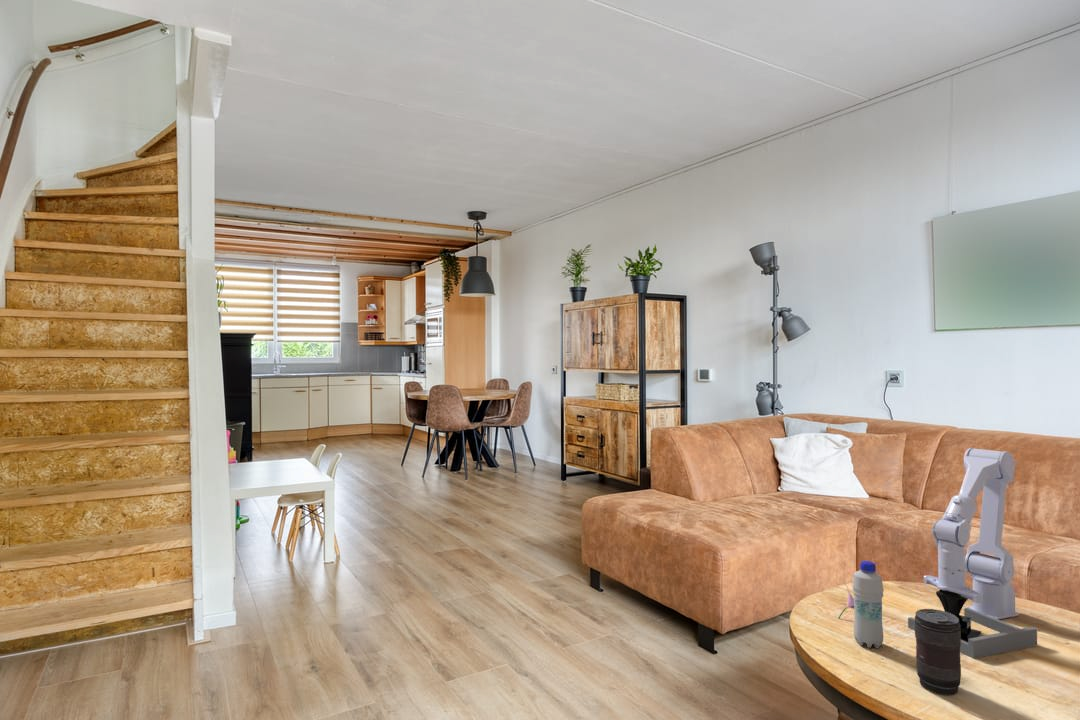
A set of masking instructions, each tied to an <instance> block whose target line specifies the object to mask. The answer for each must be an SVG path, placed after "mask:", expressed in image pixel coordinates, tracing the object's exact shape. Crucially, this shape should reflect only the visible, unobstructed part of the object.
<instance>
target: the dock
mask: <svg viewBox="0 0 1080 720" xmlns="http://www.w3.org/2000/svg"><path fill="white" fill-rule="evenodd" d="M963 609H964V611H963V614H964V615H963V616H966V617H970V618H971V622H974V623H977V624H979V625H981V626H984V627H987V628H988V629H991V630H993V631H996V632H997V633H992V634H986V635H982V636H980V635H979V637H975V638H970V639H968V642H965V641H963V640H961V646H960V654H963V655H965V656H968V657H969V658H971V659H978V658H983V657H987V656H993V655H998V654H1002V653H1008V652H1013V651H1016V650H1022V649H1028V648H1031V647H1033V648H1034V647H1036V646H1038V628H1036V627H1033V626H1028V627H1022V628H1020V627H1018V626H1016V625H1013V624H1010V623H1007V622H1005V621H1004V620H1001V619H995V618H993V617H990V616H988V615H985V614H983V613H980V612H978V611H975V610H973V609H970V608H965V607H964V608H963ZM907 627H908V628H909V629H910V630H913V631H914V632H915V617H912V616H910V617H908V618H907Z"/></svg>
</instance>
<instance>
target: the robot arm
mask: <svg viewBox="0 0 1080 720" xmlns="http://www.w3.org/2000/svg"><path fill="white" fill-rule="evenodd" d="M963 466H964V469H965V474H964V478H963V481H962V484H961V486H960V490H959V493H958V494H956V495H954V496H952V497H951V499H950V501H949V504H948V505H947V507H946V510H945V512H944V514H943V516H942V518H940V519H938V520H936V521H935V522H934V524H933V529H932V537H933V539H934V541H935V544H934V545H935V547H936V548H937V560H938V561H937V564H938V566H937V568H938V569H937V571H938V577H937V576H933V575H930V574H927V575H923V583H924V584H925V585H931V586H933V587H936V588H937V589H938V590H937V591H936V592H935V594H936V597H938V600H939V601H940V603H941V605H942V607H943V611H945V612H948V613H951V614H953V615H955V616H956V615H957V614H958V615H961V613H962V609H963V607H964V608H970V609H973V610H975V611H978V612H980V613H983V614H985V615H988V616H990V617H993V618H995V619H998V620H1002V619H1007V618H1013V617H1014V618H1015V617H1018V616H1019V615H1020V614H1019V613H1017V612H1016V590H1015V587H1014V585H1013V584H1012V583H1011V582H1012V580H1014V579H1013V578H1014V575H1015V566H1014V556H1013V554H1012V553H1011V552H1010V551H1008V550H1007V549H1006V548H1005V547H1004V546H1003V545H1002V541H1003V540H1002V538H1003V528H1004V518H1005V506H1006V495H1007V494H1006V493H1007V487H1008V484H1011V483H1013V482H1014V477H1015V476H1014V475H1015V469H1016V468H1015V466H1016V462H1015V459H1014V456H1013V455H1012V454H1011V452H1010V451H1006V450H1004V451H999V450H991V449H990V450H989V449H982V448H981V449H980V448H974V447H969V448H967V450H966V451H965V452H964V455H963ZM982 490H983V492H982V501H981V513H980V521H979V533H978V535H979V536H978V541H977V542H974V543H971V544H970V545H968V546H967V551H966V545H967V544H968V543H969V541H970V539H971V538H970V537H971V529H972V526H971V523H972V520H973V518H974V516H975V513H976V511H977V508H978V506H977V503H976V502H975V501H976V499H977V498H978V495H979V493H980V492H981V491H982ZM988 554H989V555H988ZM966 573H967V574H969V578H970V579H972V588H970V587H969V586H967V585H966ZM968 600H970V601H972V605H969V606H965V603H966V602H967V601H968Z"/></svg>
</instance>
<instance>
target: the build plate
mask: <svg viewBox="0 0 1080 720" xmlns="http://www.w3.org/2000/svg"><path fill="white" fill-rule="evenodd" d="M956 617H957V618H958V619H959V623H960V627H961V640H963V641H965V642H968V639H970V638H975V637H980V635H981V634H982V631H981V630H978V629H977V630H976V629H973V628H972V621H971V618H970V617H966V616H964V615H961V614H959V615H958V614H957V615H956Z"/></svg>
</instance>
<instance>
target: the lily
mask: <svg viewBox="0 0 1080 720" xmlns="http://www.w3.org/2000/svg"><path fill="white" fill-rule="evenodd" d="M841 581H842V582H843V583H844V585H845V587H846V591H847V605H846V606H845V608H843V610H842V611H841V612H840V614H839V616H838V618H837V619H838V620H840V618H841V617H842V615H843V613H844V612H845V611H846V610H847V609H848V608H851V609H853V610H854V596H853V595H852V594H851V592H850V589H849V587H848V585H847V584H846V583H845V581H844V580H843V579H841Z"/></svg>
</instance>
